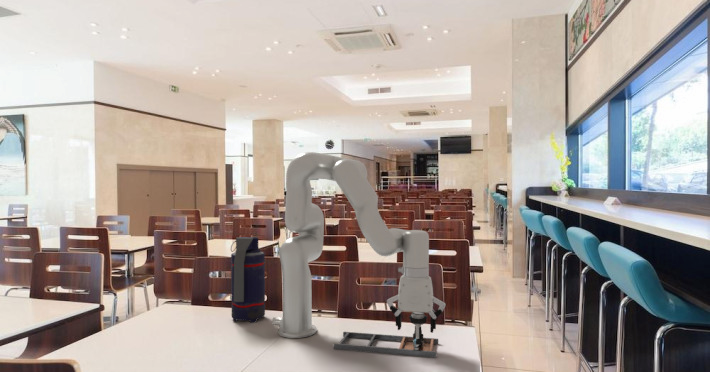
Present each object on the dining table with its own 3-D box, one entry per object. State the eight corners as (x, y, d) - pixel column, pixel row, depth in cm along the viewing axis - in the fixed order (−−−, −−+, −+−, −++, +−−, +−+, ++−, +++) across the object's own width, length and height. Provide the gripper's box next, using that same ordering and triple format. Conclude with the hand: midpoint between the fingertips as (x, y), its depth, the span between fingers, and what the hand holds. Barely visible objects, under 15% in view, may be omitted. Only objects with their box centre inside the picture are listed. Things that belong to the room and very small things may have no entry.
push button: (425, 352, 125) (425, 317, 125) (407, 350, 127) (406, 316, 127) (428, 344, 132) (427, 311, 132) (410, 342, 133) (410, 310, 133)
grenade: (240, 313, 167) (240, 234, 167) (270, 314, 164) (269, 235, 164) (222, 324, 153) (222, 239, 153) (254, 326, 151) (253, 239, 151)
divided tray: (333, 348, 129) (333, 343, 129) (343, 336, 140) (343, 331, 140) (436, 357, 122) (436, 352, 122) (438, 343, 133) (438, 338, 133)
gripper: (384, 273, 127) (384, 331, 128) (445, 276, 123) (444, 336, 123) (389, 268, 135) (388, 323, 135) (446, 271, 131) (445, 328, 131)
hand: (415, 329), depth 129 cm, fingers open, 9 cm apart
